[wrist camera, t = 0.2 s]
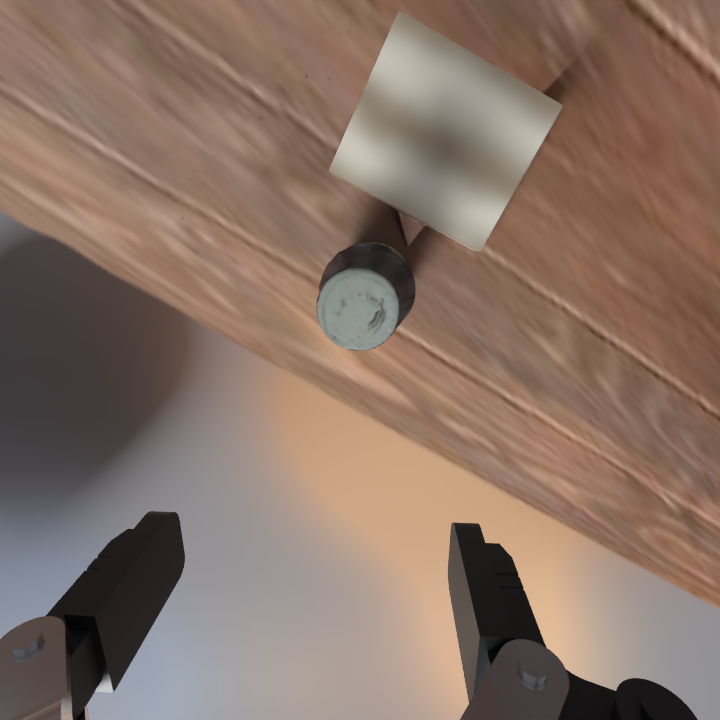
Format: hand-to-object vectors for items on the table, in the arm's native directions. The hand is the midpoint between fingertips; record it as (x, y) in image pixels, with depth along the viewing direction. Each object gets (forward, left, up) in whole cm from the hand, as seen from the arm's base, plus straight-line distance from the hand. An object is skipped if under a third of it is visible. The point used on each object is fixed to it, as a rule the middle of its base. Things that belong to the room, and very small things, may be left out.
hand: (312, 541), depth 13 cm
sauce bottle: (-5, -1, -30) cm, 30 cm away
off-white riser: (-17, -1, -30) cm, 34 cm away
